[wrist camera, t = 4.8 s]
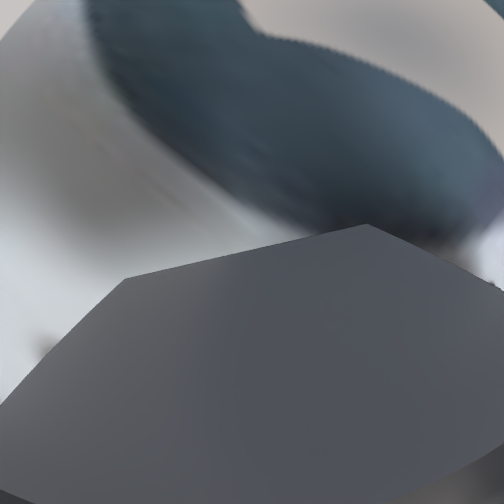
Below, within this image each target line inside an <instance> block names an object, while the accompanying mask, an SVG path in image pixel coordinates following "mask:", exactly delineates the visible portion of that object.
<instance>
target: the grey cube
mask: <svg viewBox="0 0 504 504" xmlns="http://www.w3.org/2000/svg"><path fill="white" fill-rule="evenodd" d="M0 504H504V291H502V290H500V289H498V288H497V287H495V286H493V285H491V284H489V283H487V282H486V281H484V280H482V279H480V278H478V277H476V276H474V275H473V274H471V273H469V272H467V271H465V270H463V269H461V268H459V267H457V266H455V265H453V264H451V263H449V262H447V261H445V260H443V259H441V258H439V257H437V256H435V255H433V254H431V253H429V252H427V251H425V250H423V249H421V248H419V247H417V246H415V245H413V244H410V243H408V242H406V241H404V240H402V239H400V238H398V237H395V236H393V235H391V234H389V233H387V232H385V231H382V230H380V229H378V228H376V227H373V226H371V225H369V224H364V225H359V226H355V227H350V228H346V229H341V230H337V231H333V232H328V233H324V234H319V235H315V236H310V237H306V238H302V239H297V240H293V241H288V242H284V243H280V244H275V245H271V246H266V247H262V248H258V249H253V250H249V251H244V252H240V253H236V254H231V255H227V256H222V257H218V258H214V259H209V260H205V261H200V262H196V263H192V264H187V265H183V266H179V267H174V268H170V269H165V270H161V271H157V272H152V273H148V274H144V275H139V276H135V277H131V278H126V279H124V280H123V281H122V282H121V283H120V284H119V285H117V286H116V287H115V288H114V289H113V290H112V291H111V292H110V293H109V294H108V295H107V296H106V297H105V298H104V299H103V300H101V301H100V302H99V303H98V304H97V305H96V306H95V307H94V308H93V309H92V310H91V311H90V312H89V313H88V314H87V315H86V316H85V317H84V318H83V319H82V320H81V321H80V322H79V323H78V324H77V325H76V326H75V327H74V328H73V329H72V330H71V331H70V332H69V333H68V334H67V335H66V336H65V337H64V338H63V339H62V340H61V341H60V342H59V343H58V344H57V345H56V346H55V347H54V348H53V349H52V350H51V351H50V352H49V353H48V354H47V355H46V356H45V357H44V358H43V359H42V360H41V361H40V362H39V363H38V364H37V365H36V367H35V368H34V369H33V370H32V371H31V372H30V373H29V374H28V375H27V376H26V377H25V378H24V379H23V381H22V382H21V383H20V384H19V385H18V386H17V387H16V388H15V389H14V391H13V392H12V393H11V394H10V395H9V396H8V397H7V398H6V400H5V401H4V402H3V403H2V404H1V405H0Z"/></svg>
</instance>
